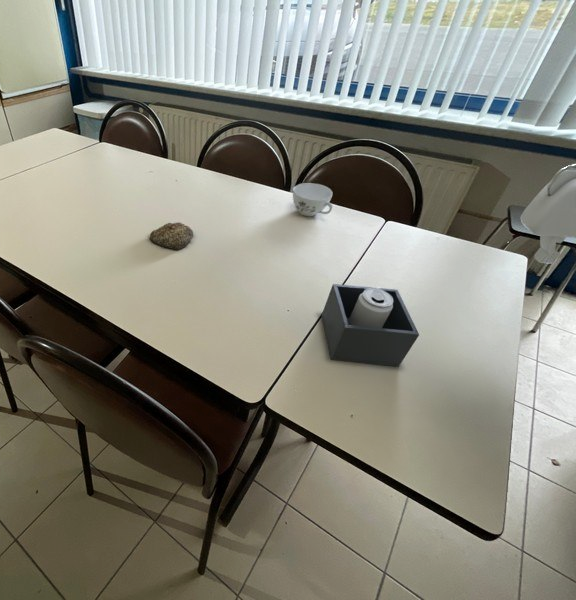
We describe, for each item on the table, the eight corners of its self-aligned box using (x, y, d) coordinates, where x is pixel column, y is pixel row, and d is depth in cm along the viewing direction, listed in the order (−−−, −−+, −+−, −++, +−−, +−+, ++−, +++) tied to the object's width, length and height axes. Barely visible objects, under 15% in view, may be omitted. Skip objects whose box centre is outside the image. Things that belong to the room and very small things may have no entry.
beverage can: (342, 343, 80) (360, 302, 72) (343, 323, 84) (361, 283, 76) (373, 351, 78) (396, 310, 70) (373, 331, 82) (395, 290, 74)
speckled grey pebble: (176, 254, 107) (176, 239, 103) (144, 240, 112) (143, 226, 109) (201, 235, 114) (202, 221, 111) (170, 223, 120) (169, 209, 117)
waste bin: (398, 367, 76) (419, 334, 69) (331, 359, 77) (345, 327, 71) (380, 321, 86) (397, 289, 79) (321, 315, 87) (332, 283, 81)
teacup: (280, 209, 127) (285, 187, 122) (306, 200, 132) (312, 179, 127) (313, 228, 118) (319, 205, 112) (339, 218, 122) (347, 196, 117)
